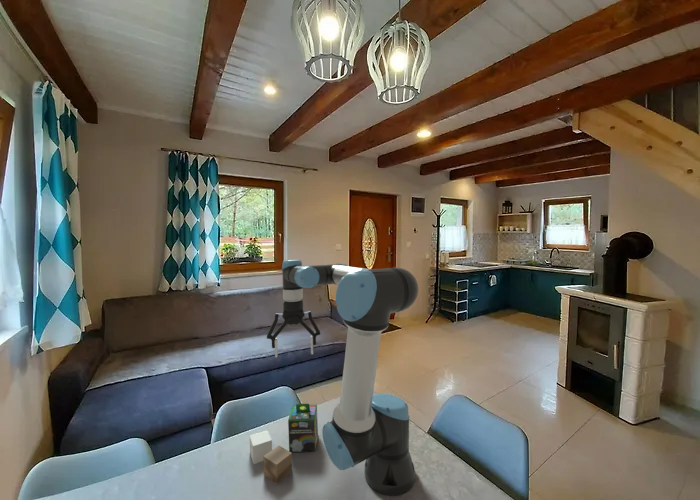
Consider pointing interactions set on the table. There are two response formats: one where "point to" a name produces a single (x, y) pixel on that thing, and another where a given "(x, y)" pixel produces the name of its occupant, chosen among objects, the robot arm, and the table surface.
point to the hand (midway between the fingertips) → (294, 354)
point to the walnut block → (277, 464)
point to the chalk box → (303, 428)
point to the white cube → (260, 446)
